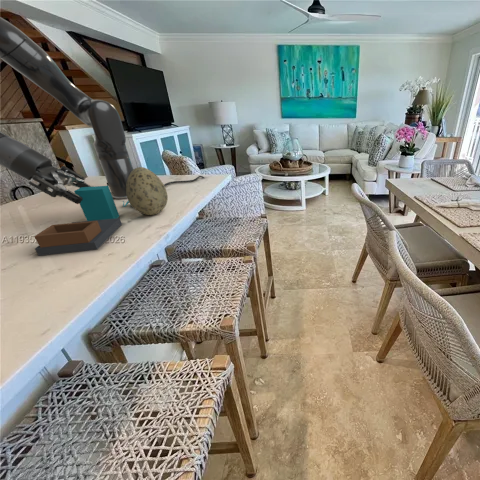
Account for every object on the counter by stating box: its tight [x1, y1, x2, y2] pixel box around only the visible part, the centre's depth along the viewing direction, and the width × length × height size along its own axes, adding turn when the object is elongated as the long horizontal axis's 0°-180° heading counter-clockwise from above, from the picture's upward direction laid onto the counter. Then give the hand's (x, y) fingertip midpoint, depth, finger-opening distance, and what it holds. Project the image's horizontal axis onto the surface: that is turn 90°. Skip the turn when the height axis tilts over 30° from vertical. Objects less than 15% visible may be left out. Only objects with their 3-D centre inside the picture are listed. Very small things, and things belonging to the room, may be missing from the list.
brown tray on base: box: [33, 217, 123, 257], centre depth 69 cm, size 16×12×5 cm
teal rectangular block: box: [73, 185, 120, 221], centre depth 79 cm, size 4×7×10 cm, turn 105°
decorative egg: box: [126, 166, 169, 216], centre depth 83 cm, size 11×11×15 cm
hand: (88, 197), depth 78 cm, fingers open, 8 cm apart
